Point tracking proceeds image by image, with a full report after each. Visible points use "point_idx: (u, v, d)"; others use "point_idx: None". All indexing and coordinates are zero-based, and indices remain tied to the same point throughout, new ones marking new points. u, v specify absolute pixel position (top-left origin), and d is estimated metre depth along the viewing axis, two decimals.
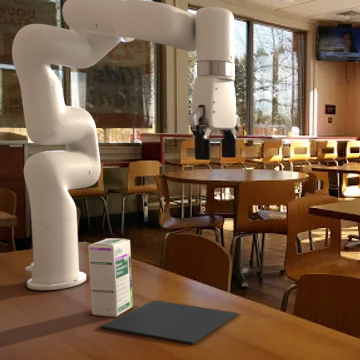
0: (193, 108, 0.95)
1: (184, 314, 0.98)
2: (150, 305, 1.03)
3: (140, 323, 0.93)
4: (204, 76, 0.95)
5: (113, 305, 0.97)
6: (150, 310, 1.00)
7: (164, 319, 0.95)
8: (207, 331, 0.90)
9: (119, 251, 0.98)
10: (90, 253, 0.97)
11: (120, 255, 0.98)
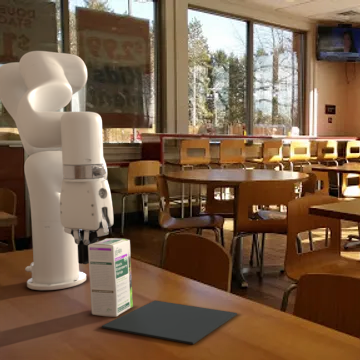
0: None
1: (184, 314, 0.98)
2: (150, 305, 1.03)
3: (140, 323, 0.93)
4: None
5: (113, 305, 0.97)
6: (150, 310, 1.00)
7: (164, 319, 0.95)
8: (207, 331, 0.90)
9: (119, 251, 0.98)
10: (90, 253, 0.97)
11: (120, 255, 0.98)
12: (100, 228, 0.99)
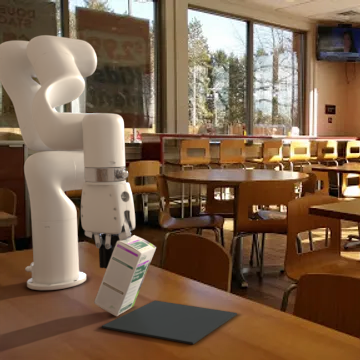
0: None
1: (184, 314, 0.98)
2: (150, 305, 1.03)
3: (140, 323, 0.93)
4: None
5: (118, 305, 0.97)
6: (150, 310, 1.00)
7: (164, 319, 0.95)
8: (207, 331, 0.90)
9: (143, 258, 0.97)
10: (116, 249, 0.96)
11: (143, 261, 0.97)
12: (122, 232, 0.97)
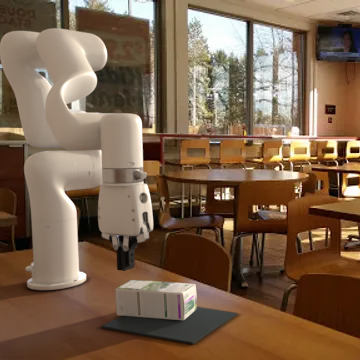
0: None
1: None
2: None
3: (140, 323, 0.93)
4: None
5: (126, 313, 0.96)
6: None
7: (164, 319, 0.95)
8: (207, 331, 0.90)
9: None
10: (174, 295, 0.94)
11: None
12: (140, 234, 0.95)
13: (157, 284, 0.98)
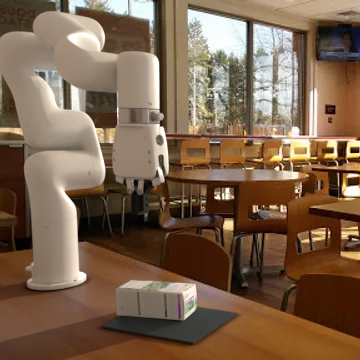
0: None
1: None
2: None
3: (140, 323, 0.93)
4: None
5: (126, 313, 0.96)
6: None
7: (164, 319, 0.95)
8: (207, 331, 0.90)
9: None
10: (174, 295, 0.94)
11: None
12: (156, 177, 0.93)
13: (157, 284, 0.98)
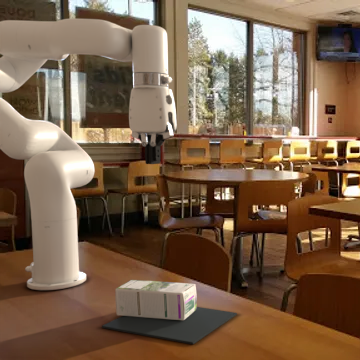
0: None
1: None
2: None
3: (140, 323, 0.93)
4: None
5: (126, 313, 0.96)
6: None
7: (164, 319, 0.95)
8: (207, 331, 0.90)
9: None
10: (174, 295, 0.94)
11: None
12: (166, 131, 1.10)
13: (157, 284, 0.98)
